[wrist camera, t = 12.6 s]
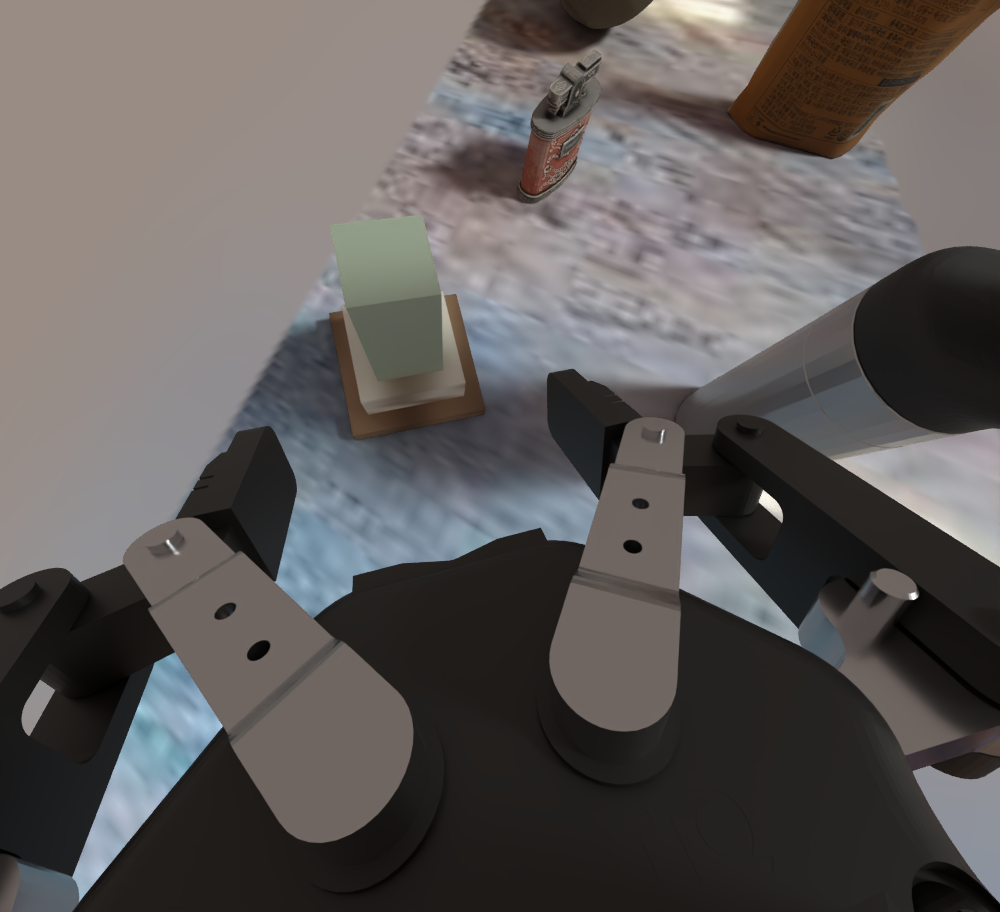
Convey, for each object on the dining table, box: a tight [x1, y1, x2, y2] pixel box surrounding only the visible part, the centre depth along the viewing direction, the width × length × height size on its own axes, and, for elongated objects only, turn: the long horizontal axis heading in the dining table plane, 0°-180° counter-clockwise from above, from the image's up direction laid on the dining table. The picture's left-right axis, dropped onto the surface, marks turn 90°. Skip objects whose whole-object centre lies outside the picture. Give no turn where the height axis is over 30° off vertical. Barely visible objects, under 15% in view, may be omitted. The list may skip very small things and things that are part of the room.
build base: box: [329, 291, 485, 440], centre depth 34 cm, size 11×11×4 cm
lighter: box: [517, 49, 603, 204], centre depth 37 cm, size 8×3×10 cm, turn 139°
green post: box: [330, 215, 443, 381], centre depth 27 cm, size 5×5×10 cm
